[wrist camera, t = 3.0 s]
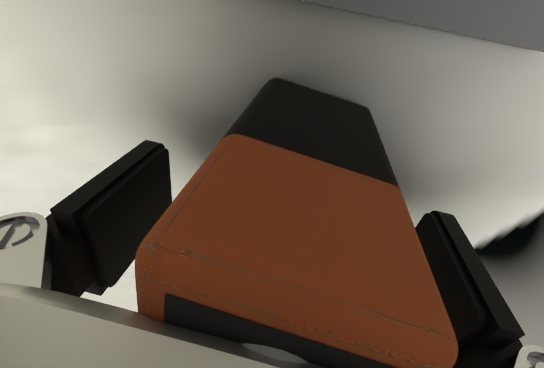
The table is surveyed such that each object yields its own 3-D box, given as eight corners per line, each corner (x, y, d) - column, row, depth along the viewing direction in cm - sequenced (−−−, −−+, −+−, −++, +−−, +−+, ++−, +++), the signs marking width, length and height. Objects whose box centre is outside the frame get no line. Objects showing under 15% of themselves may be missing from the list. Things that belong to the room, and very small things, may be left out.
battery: (375, 106, 10) (553, 499, 2) (314, 224, 14) (294, 519, 6) (269, 71, 10) (38, 334, 2) (237, 199, 14) (115, 462, 6)
